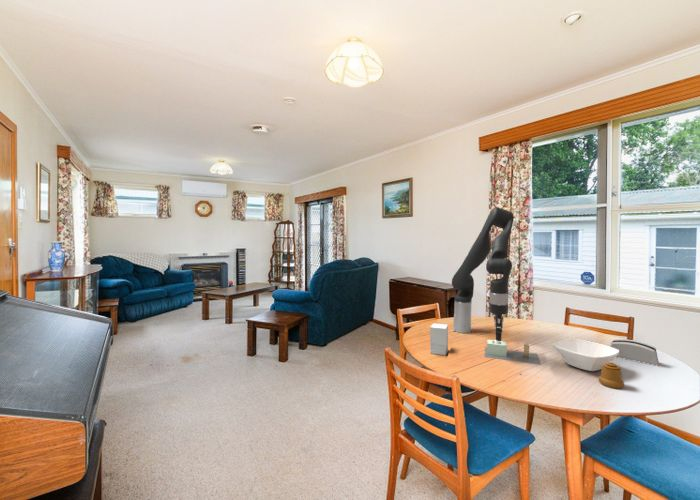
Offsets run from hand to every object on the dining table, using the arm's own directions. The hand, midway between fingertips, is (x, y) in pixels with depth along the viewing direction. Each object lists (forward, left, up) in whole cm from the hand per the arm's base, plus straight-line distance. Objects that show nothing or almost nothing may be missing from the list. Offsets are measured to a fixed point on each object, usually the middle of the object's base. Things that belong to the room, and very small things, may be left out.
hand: (498, 338), depth 153 cm
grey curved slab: (+55, +20, -9) cm, 59 cm away
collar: (-1, 0, -7) cm, 7 cm away
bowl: (+33, +2, -9) cm, 35 cm away
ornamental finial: (+38, -14, -9) cm, 42 cm away
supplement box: (-26, -4, -9) cm, 27 cm away
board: (+5, 0, -9) cm, 10 cm away
